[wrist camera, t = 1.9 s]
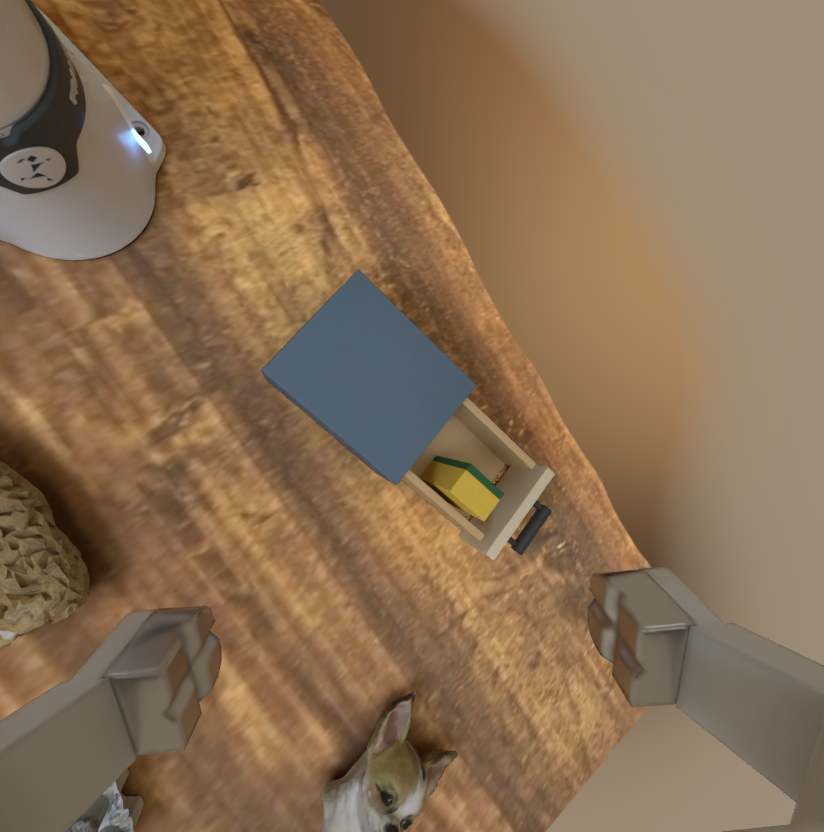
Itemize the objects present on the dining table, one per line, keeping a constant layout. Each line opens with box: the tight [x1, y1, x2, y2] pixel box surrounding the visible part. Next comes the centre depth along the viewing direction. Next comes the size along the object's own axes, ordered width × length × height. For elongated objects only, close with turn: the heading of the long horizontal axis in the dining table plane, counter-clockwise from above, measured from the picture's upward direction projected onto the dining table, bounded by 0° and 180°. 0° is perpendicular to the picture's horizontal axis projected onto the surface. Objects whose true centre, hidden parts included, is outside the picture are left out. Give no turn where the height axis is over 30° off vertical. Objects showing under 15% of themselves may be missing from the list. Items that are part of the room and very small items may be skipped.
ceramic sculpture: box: [321, 692, 458, 832], centre depth 40 cm, size 11×9×15 cm
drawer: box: [401, 398, 555, 561], centre depth 43 cm, size 19×11×7 cm, turn 50°
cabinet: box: [261, 270, 476, 485], centre depth 40 cm, size 15×12×8 cm
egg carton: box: [66, 769, 144, 832], centre depth 34 cm, size 11×8×4 cm
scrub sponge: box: [419, 456, 504, 521], centre depth 40 cm, size 4×3×9 cm
